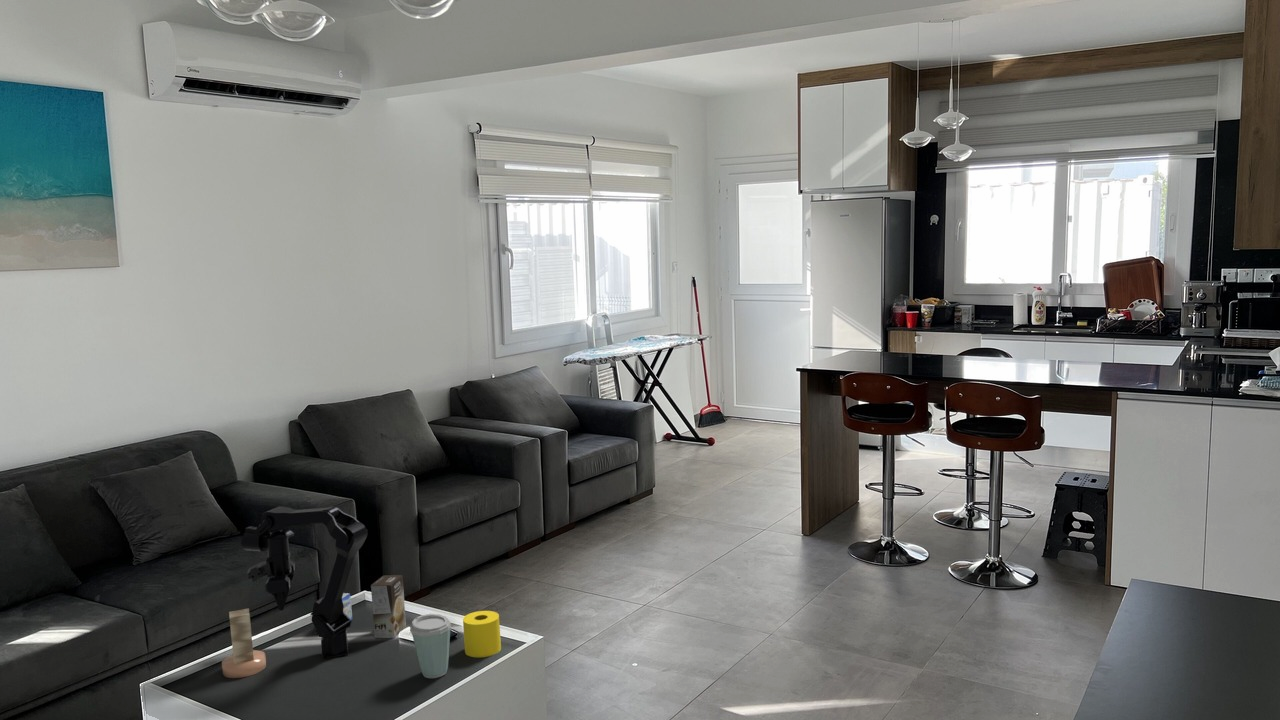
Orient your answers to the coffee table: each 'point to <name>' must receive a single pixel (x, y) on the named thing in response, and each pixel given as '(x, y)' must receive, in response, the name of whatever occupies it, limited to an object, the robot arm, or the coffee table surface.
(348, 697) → the coffee table surface
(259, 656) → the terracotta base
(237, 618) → the birch block
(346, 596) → the medicine box
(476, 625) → the yellow toilet paper roll
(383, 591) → the coffee box
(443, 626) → the disposable coffee cup
